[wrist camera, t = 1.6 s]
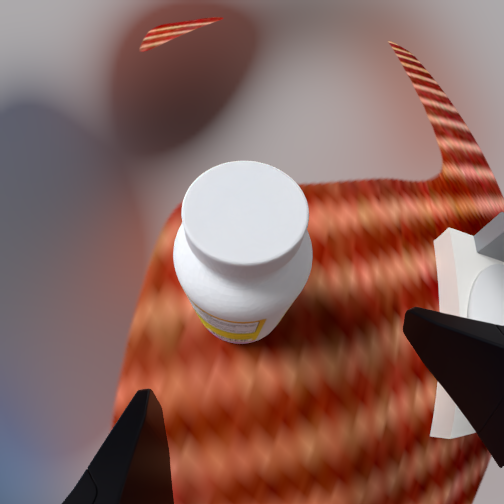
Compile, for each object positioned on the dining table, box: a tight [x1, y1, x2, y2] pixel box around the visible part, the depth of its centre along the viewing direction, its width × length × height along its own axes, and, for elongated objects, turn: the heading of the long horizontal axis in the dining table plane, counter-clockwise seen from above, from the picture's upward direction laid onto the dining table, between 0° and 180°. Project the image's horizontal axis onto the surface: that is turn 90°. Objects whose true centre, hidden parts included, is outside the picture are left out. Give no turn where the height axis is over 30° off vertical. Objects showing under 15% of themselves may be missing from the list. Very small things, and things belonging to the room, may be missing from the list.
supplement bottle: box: [173, 161, 312, 344], centre depth 16 cm, size 7×7×13 cm
